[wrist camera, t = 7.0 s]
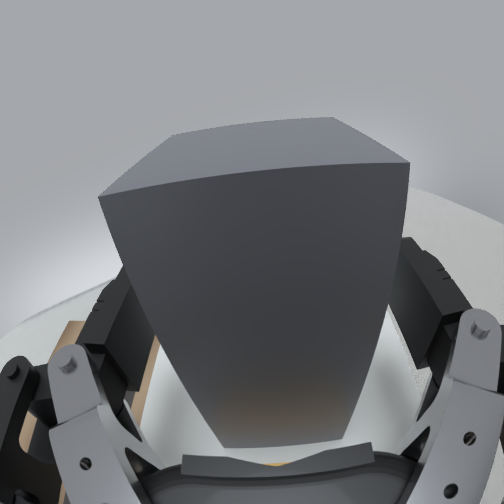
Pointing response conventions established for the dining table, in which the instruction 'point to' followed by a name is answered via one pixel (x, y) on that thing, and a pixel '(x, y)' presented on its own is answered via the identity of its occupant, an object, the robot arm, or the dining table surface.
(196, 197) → the block on square base
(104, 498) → the robot arm
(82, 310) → the dining table surface
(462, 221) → the dining table surface
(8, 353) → the dining table surface
